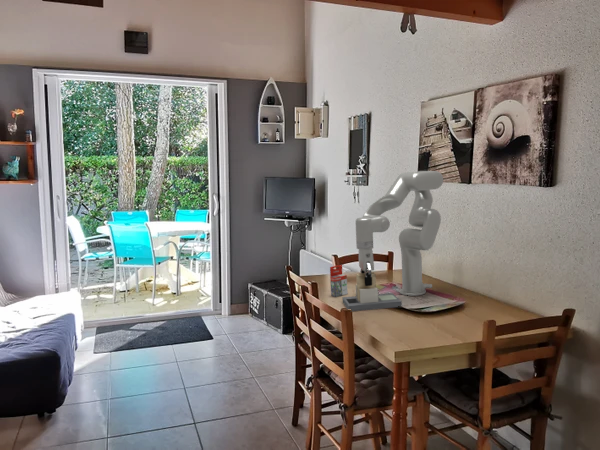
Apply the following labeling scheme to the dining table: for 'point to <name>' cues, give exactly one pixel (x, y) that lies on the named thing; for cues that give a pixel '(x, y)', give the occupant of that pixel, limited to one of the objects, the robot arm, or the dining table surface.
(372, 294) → the pale grey u-shaped piece
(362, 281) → the block
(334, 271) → the ink box
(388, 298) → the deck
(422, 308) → the dining table surface
